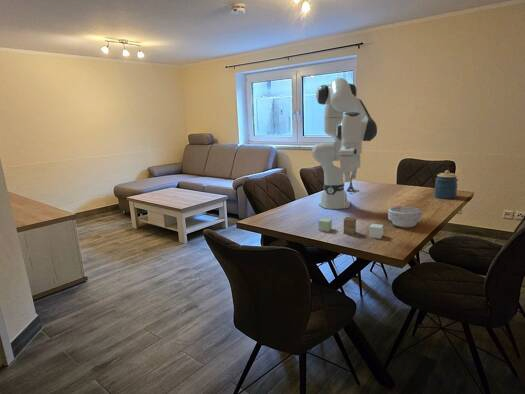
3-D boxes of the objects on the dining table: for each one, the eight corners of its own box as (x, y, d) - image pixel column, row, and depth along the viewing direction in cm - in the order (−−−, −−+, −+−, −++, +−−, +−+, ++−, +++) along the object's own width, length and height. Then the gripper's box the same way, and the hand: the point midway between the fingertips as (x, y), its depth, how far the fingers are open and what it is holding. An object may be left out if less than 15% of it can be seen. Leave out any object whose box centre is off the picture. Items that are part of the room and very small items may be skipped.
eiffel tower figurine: (351, 194, 238) (352, 176, 235) (339, 192, 245) (339, 174, 242) (362, 191, 248) (363, 173, 245) (350, 189, 255) (351, 172, 252)
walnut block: (346, 230, 161) (346, 216, 159) (355, 232, 159) (356, 217, 157) (343, 233, 157) (343, 219, 155) (353, 234, 155) (353, 220, 153)
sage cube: (322, 227, 167) (322, 218, 166) (331, 228, 165) (331, 219, 163) (318, 230, 163) (318, 220, 162) (328, 231, 160) (328, 222, 159)
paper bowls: (393, 218, 177) (394, 204, 175) (424, 223, 167) (425, 208, 165) (383, 226, 165) (383, 210, 163) (415, 231, 156) (416, 215, 154)
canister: (456, 200, 210) (458, 172, 206) (432, 198, 216) (435, 171, 212) (457, 195, 220) (459, 169, 216) (434, 194, 227) (436, 168, 223)
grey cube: (371, 234, 155) (371, 223, 154) (382, 235, 153) (383, 224, 152) (369, 237, 151) (369, 226, 150) (380, 238, 149) (381, 228, 148)
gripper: (350, 147, 159) (350, 176, 162) (337, 151, 142) (337, 183, 145) (364, 147, 156) (363, 177, 159) (352, 151, 139) (351, 184, 142)
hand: (350, 180), depth 152 cm, fingers open, 8 cm apart
